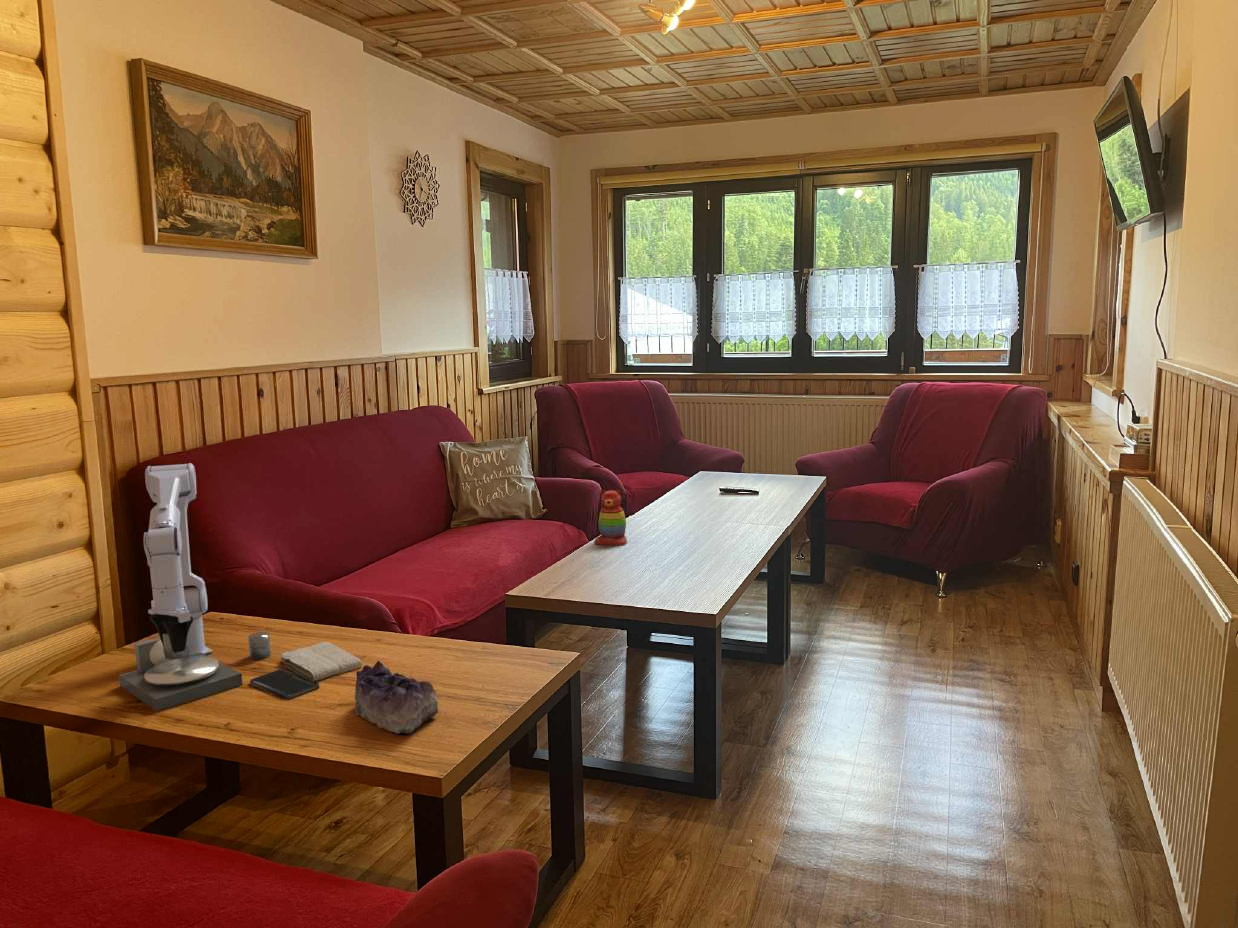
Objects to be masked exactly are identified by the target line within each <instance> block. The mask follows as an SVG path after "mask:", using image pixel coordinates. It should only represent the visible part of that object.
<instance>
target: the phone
mask: <svg viewBox="0 0 1238 928" xmlns="http://www.w3.org/2000/svg"><path fill="white" fill-rule="evenodd" d="M249 682H250V683H249V684H250V686H253V687H255V688H257V689H260V690H262V691H265V692H266V693H269V694H272V695H274V696H276V697H279V698H280V699H283V700H293V699H296V698H298V697H300V696H303V695H306V694H309V693H313V691H317V690H319V689H320V683H319V682H317V681H312V680H309V679H307V678H305V677H303V676H301V675H299V674H297V673H295V672H294V673H293V672H291V671H288V670H286V669H277V670H274V671H272V672H269V673H264V674H263V675H259V676H257V677H256V676H255V677H254V678H251V679H250V680H249Z"/></svg>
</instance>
